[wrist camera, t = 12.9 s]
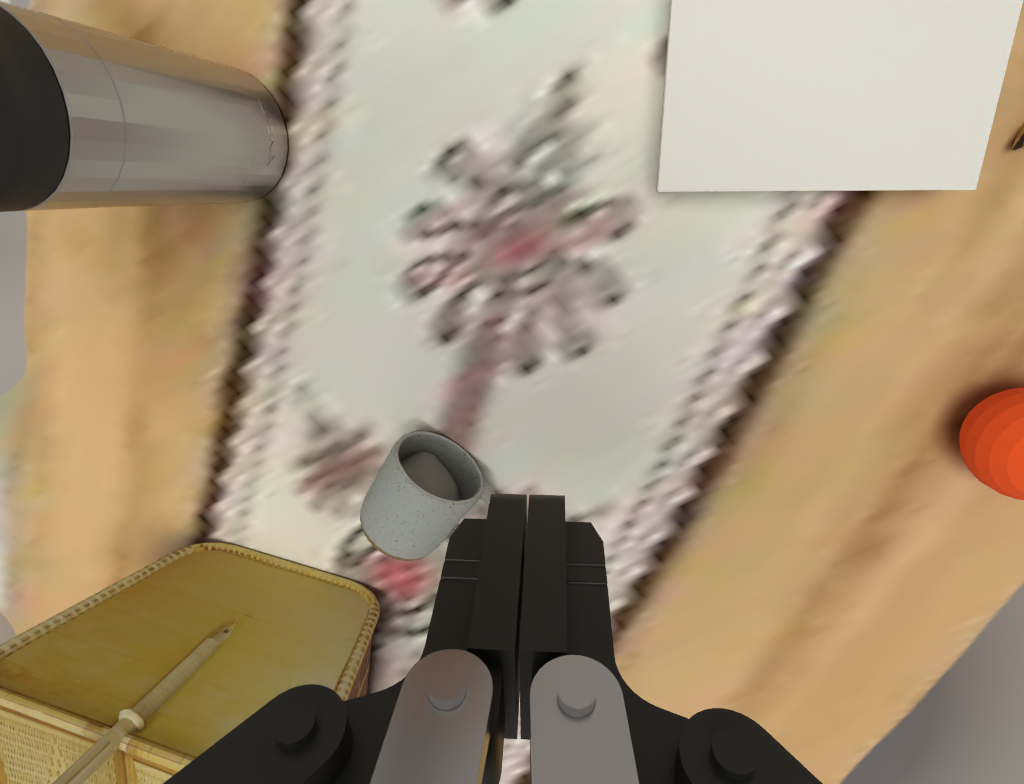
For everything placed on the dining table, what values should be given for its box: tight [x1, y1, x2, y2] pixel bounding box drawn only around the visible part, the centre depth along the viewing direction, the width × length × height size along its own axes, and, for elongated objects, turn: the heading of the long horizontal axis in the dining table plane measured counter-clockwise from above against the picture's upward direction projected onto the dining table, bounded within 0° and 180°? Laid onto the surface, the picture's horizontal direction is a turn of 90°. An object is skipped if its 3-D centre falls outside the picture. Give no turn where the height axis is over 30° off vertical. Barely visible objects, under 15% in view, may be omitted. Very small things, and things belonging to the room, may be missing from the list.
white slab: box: [657, 0, 1023, 192], centre depth 31 cm, size 16×16×5 cm
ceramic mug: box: [360, 431, 495, 561], centre depth 45 cm, size 11×8×8 cm
